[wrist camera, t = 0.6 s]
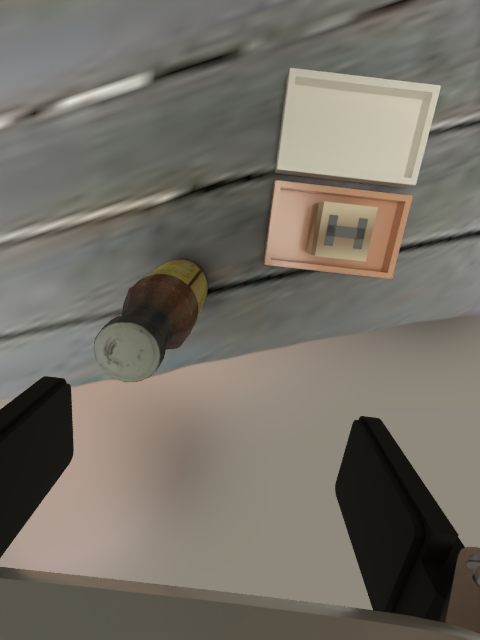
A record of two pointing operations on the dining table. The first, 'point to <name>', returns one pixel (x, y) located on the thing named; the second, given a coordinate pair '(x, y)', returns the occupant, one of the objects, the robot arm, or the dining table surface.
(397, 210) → the tray
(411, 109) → the tray
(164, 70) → the dining table surface
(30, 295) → the dining table surface
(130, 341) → the sauce bottle
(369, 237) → the letter cube
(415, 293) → the dining table surface
